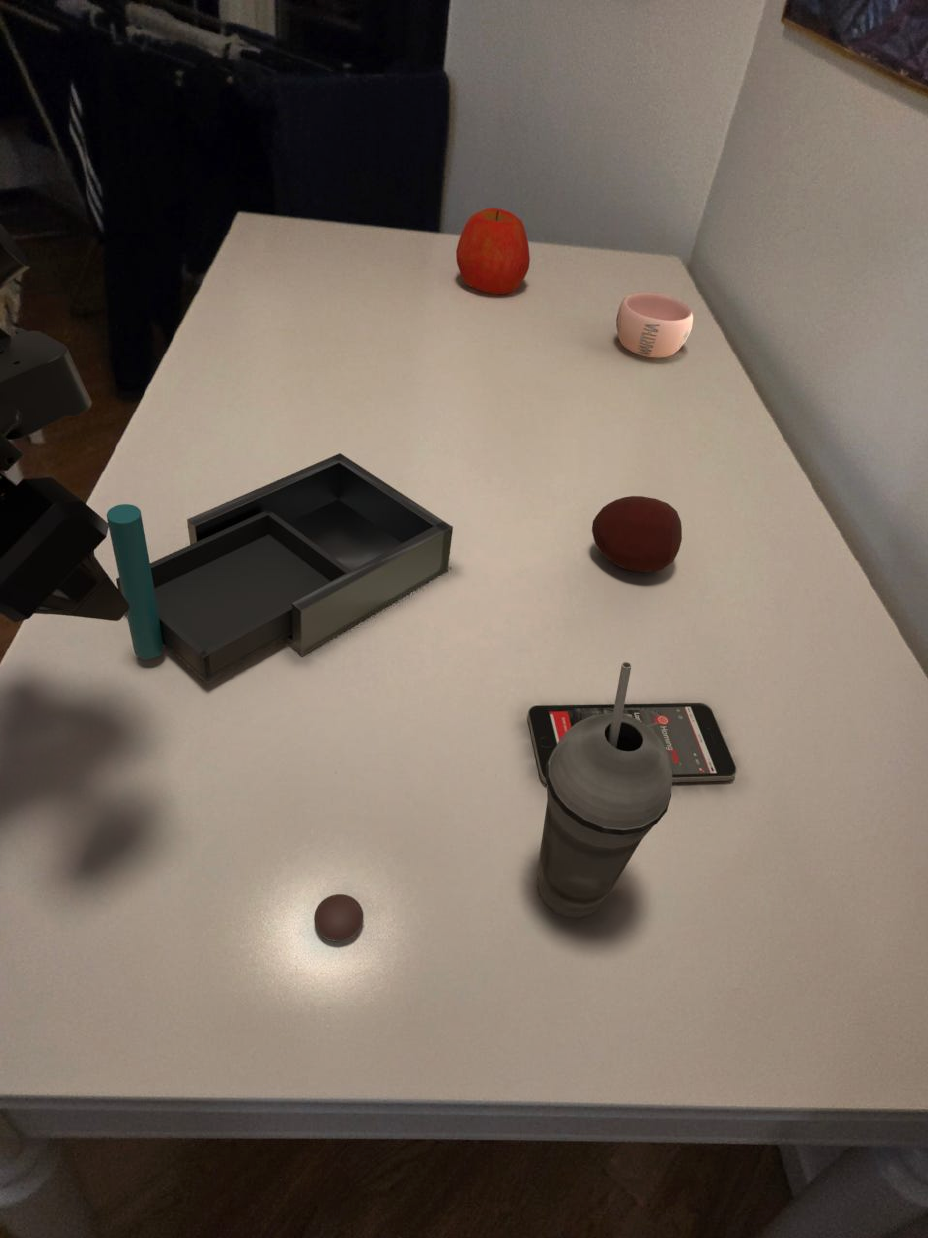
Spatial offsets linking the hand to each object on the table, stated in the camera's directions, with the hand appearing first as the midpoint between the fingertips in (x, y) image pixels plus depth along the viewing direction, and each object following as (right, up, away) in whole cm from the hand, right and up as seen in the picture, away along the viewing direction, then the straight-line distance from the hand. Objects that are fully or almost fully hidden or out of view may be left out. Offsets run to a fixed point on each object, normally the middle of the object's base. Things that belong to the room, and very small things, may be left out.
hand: (86, 580), depth 52 cm
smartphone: (+35, -12, +16) cm, 40 cm away
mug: (+47, +35, +69) cm, 91 cm away
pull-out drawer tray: (+10, +2, +27) cm, 29 cm away
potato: (+38, +3, +33) cm, 50 cm away
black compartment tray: (+3, -1, +21) cm, 21 cm away
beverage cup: (+29, -20, +6) cm, 36 cm away
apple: (+26, +47, +79) cm, 96 cm away
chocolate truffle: (+15, -21, +3) cm, 26 cm away
